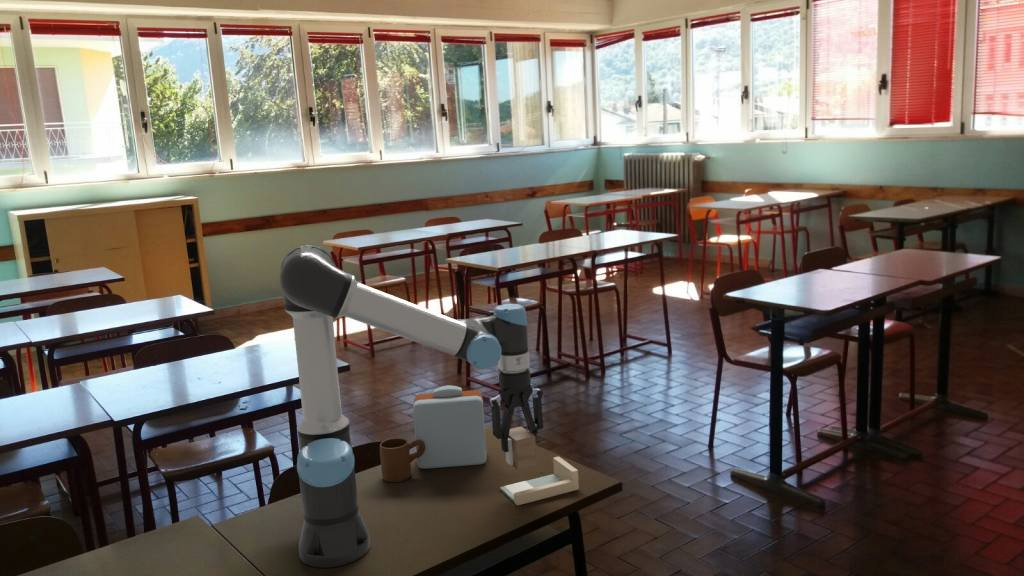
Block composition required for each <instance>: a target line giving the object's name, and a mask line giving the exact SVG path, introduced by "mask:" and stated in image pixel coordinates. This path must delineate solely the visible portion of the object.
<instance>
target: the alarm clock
mask: <svg viewBox="0 0 1024 576" xmlns="http://www.w3.org/2000/svg"><path fill="white" fill-rule="evenodd" d="M483 397H484V396H483V393H482V392H481V391H480V390H478V389H473V390H472V389H471V390H463V388H462V387H460V386H457V385H450V384H447V385H443V386H439V387H436V388H434V389H433V393H432V392H431V393H421V394H420V393H419V394H417V395H415V397H414V401H413V406H412V412H413V413H412V415H413V422H414V423H413V426H414V436H415V438H414V440H416V439H419V440H422V441H423V442H424V444H425V451H424V453H423V454H422V456H420V457H419V458H416V460H417V461H416V462H417V465H418V468H420V469H438V468H451V467H464V466H476V465H478V466H479V465H483V464H485V463H486V462H487V458H488V456H487V443H486V442H487V441H486V426H485V413H484V411H485V410H484V400H483ZM415 447H416V448H415V449H416V451H415V452H417V451H418V450H419V445H416V446H415Z"/></svg>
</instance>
